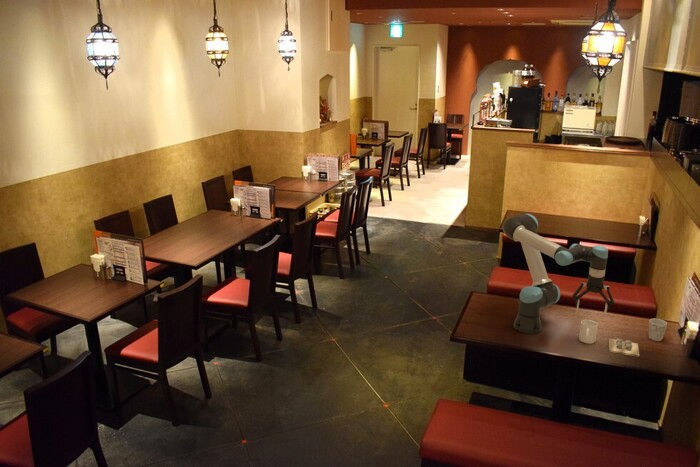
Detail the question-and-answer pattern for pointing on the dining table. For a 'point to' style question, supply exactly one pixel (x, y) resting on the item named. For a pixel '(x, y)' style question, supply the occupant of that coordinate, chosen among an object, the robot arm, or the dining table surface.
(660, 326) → the mug
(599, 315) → the dining table surface
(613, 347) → the peg stand
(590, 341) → the mug
